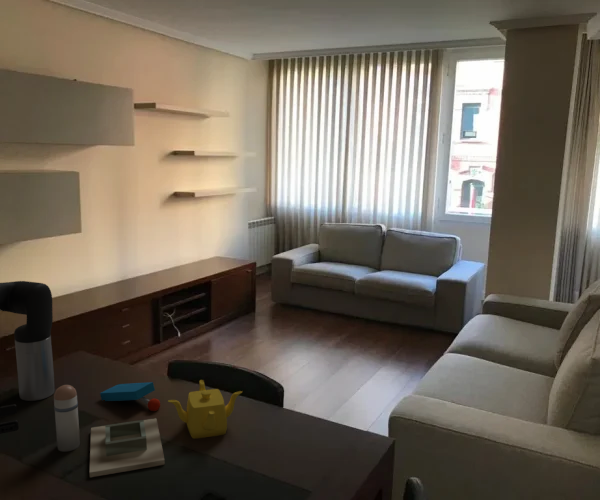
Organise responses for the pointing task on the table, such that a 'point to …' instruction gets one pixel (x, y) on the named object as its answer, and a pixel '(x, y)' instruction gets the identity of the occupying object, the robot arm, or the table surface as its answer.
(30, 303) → the robot arm
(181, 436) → the table surface
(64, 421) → the brown-capped white canister
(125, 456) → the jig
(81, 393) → the table surface
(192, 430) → the teapot
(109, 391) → the lever
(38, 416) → the table surface
